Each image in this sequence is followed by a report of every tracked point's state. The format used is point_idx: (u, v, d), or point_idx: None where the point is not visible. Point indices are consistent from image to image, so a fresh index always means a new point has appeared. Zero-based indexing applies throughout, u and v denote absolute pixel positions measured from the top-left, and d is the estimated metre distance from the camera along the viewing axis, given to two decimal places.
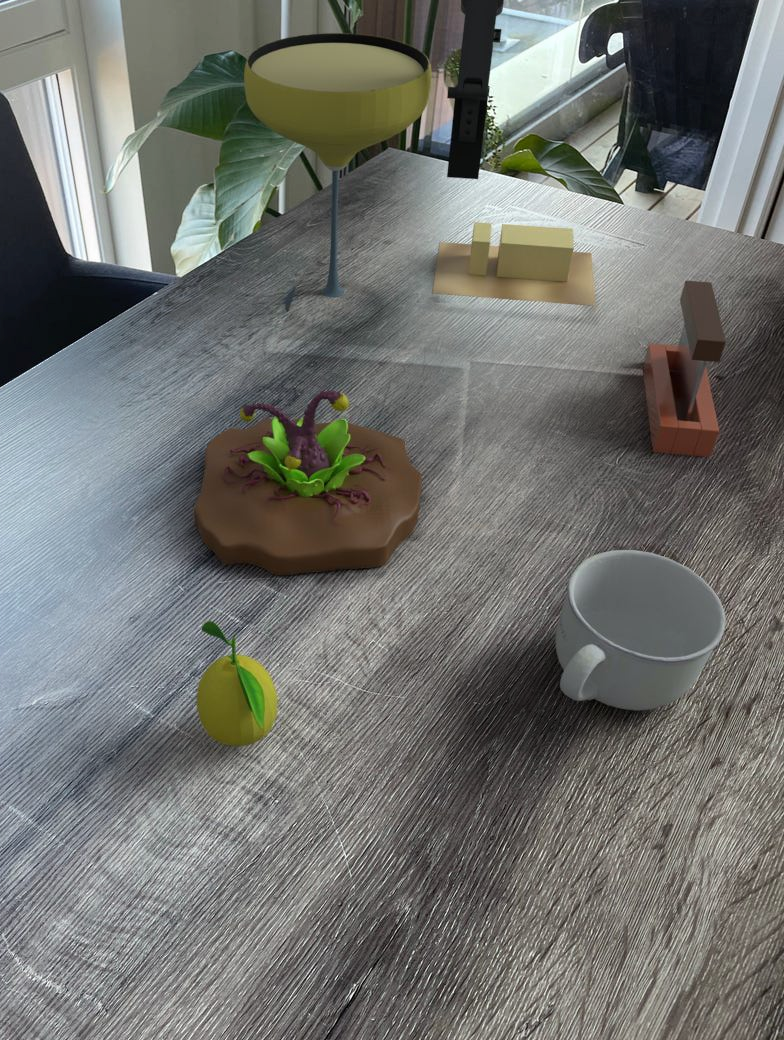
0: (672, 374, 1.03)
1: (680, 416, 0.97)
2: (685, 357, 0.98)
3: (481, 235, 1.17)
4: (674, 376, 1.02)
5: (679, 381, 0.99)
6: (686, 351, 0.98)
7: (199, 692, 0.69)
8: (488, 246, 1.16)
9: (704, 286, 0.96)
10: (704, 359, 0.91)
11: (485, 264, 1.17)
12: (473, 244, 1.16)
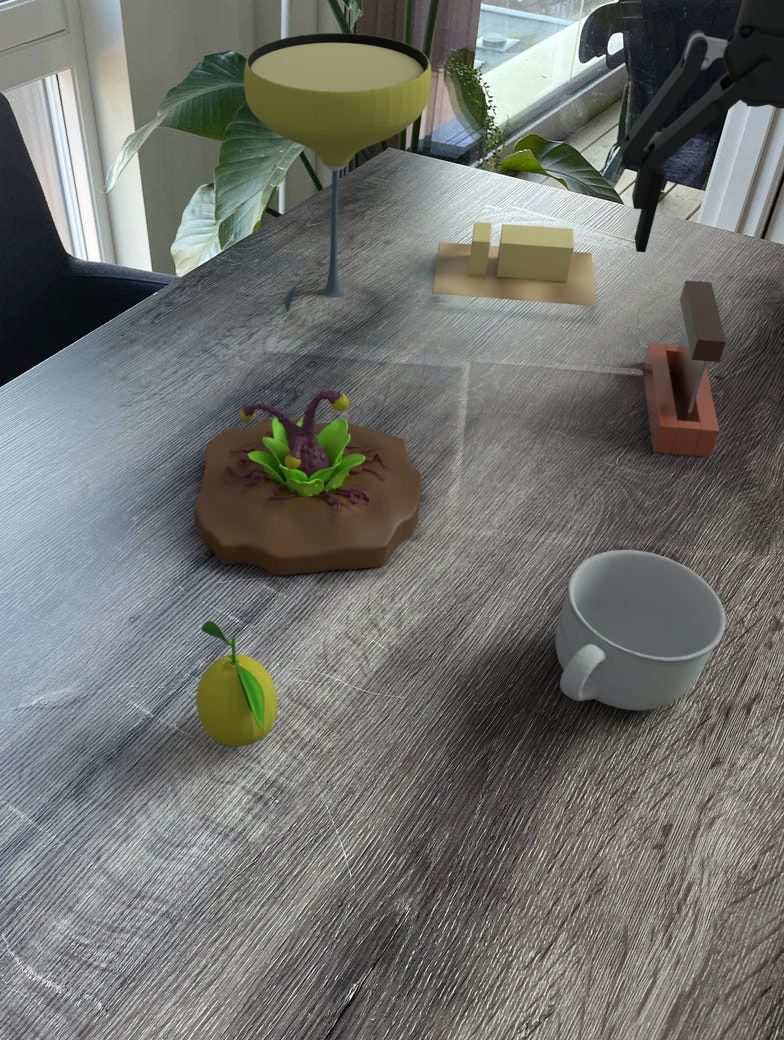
0: (672, 374, 1.03)
1: (680, 416, 0.97)
2: (685, 357, 0.98)
3: (481, 235, 1.17)
4: (674, 376, 1.02)
5: (679, 381, 0.99)
6: (686, 351, 0.98)
7: (199, 692, 0.69)
8: (488, 246, 1.16)
9: (704, 286, 0.96)
10: (704, 359, 0.91)
11: (485, 264, 1.17)
12: (473, 244, 1.16)
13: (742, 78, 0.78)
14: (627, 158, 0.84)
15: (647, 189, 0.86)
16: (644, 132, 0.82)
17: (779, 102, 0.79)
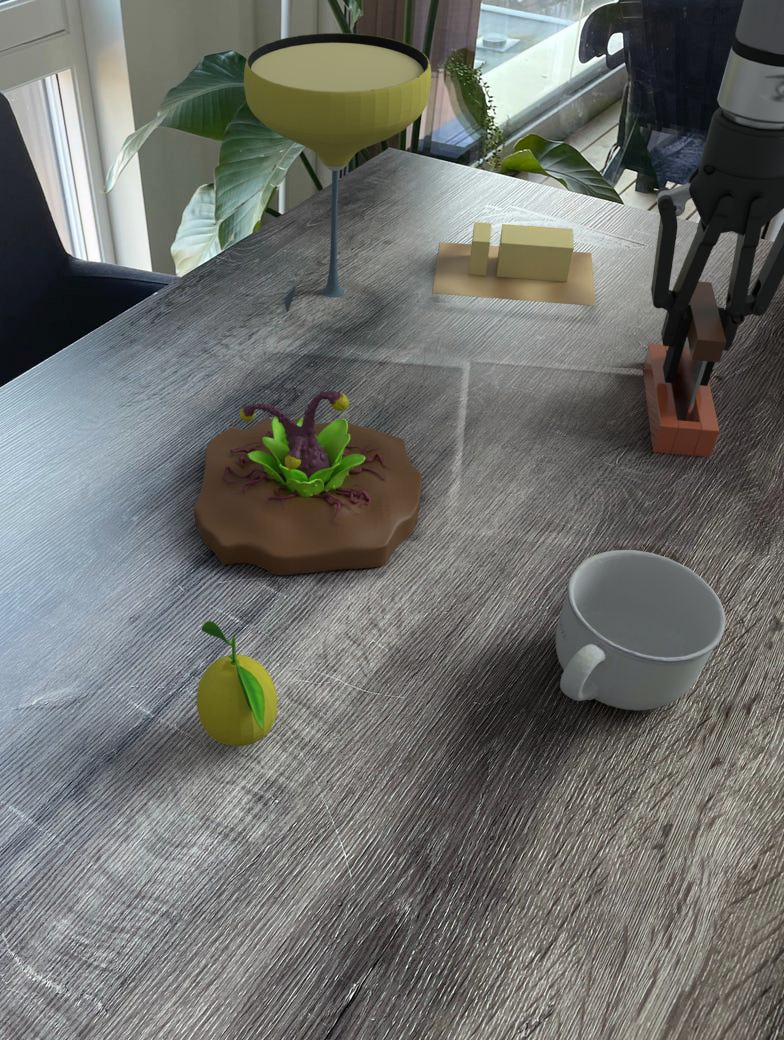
0: None
1: (680, 416, 0.97)
2: (685, 357, 0.98)
3: (481, 235, 1.17)
4: None
5: (679, 381, 0.99)
6: (686, 351, 0.98)
7: (199, 692, 0.69)
8: (488, 246, 1.16)
9: (705, 286, 0.96)
10: (704, 359, 0.91)
11: (485, 264, 1.17)
12: (473, 244, 1.16)
13: (712, 217, 0.86)
14: None
15: (675, 330, 0.94)
16: (661, 281, 0.91)
17: (741, 229, 0.87)
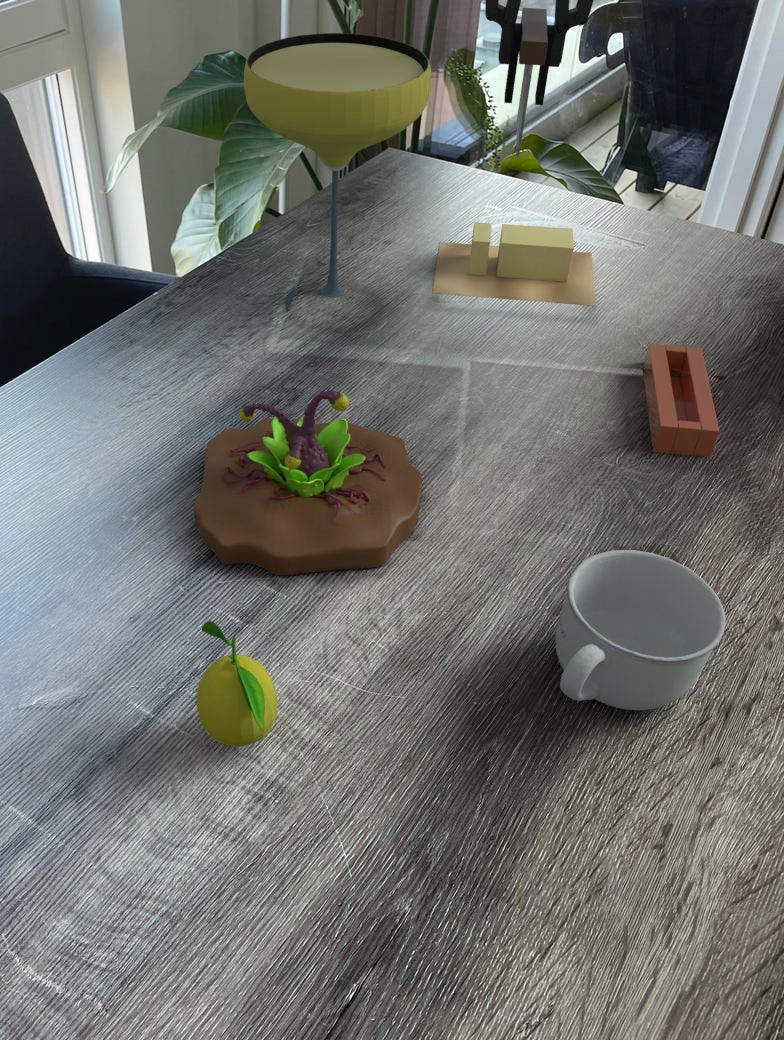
0: (518, 109, 1.10)
1: (518, 134, 1.05)
2: (524, 81, 1.05)
3: (481, 235, 1.17)
4: (519, 108, 1.09)
5: (520, 107, 1.07)
6: None
7: (199, 692, 0.69)
8: (488, 246, 1.16)
9: (539, 10, 1.04)
10: (530, 63, 0.98)
11: (485, 264, 1.17)
12: (473, 244, 1.16)
13: None
14: (491, 17, 1.00)
15: (509, 45, 1.02)
16: None
17: None
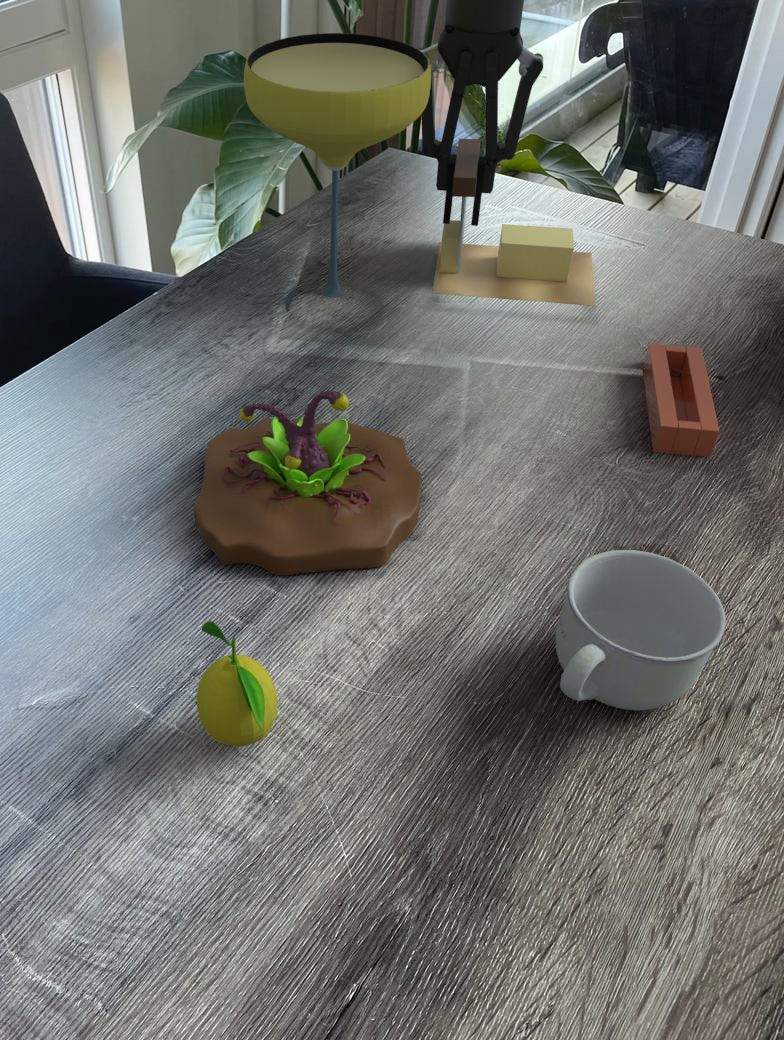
0: None
1: None
2: None
3: (450, 232, 1.17)
4: None
5: None
6: None
7: (199, 692, 0.69)
8: (458, 243, 1.16)
9: (473, 141, 1.15)
10: (462, 195, 1.09)
11: (456, 261, 1.18)
12: (443, 242, 1.16)
13: (457, 71, 1.04)
14: (428, 152, 1.11)
15: (445, 175, 1.13)
16: (426, 130, 1.09)
17: (483, 82, 1.05)
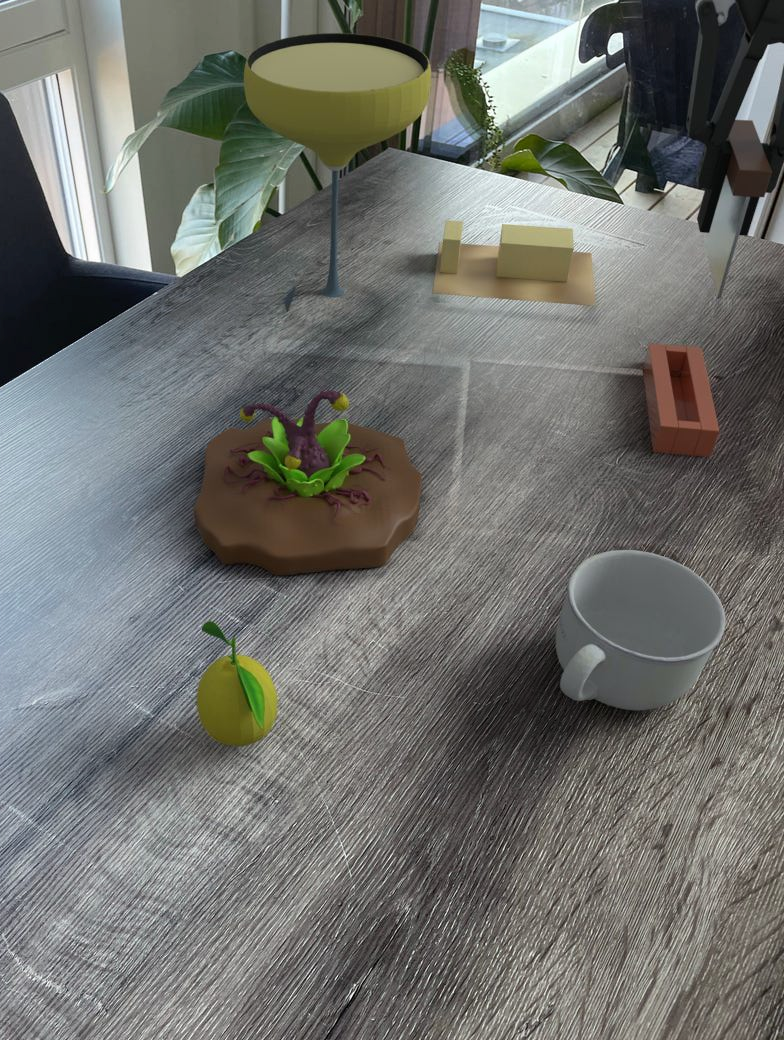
0: (708, 233, 0.93)
1: (719, 270, 0.87)
2: (723, 206, 0.88)
3: (452, 233, 1.17)
4: (711, 233, 0.92)
5: (717, 235, 0.89)
6: (724, 199, 0.88)
7: (199, 692, 0.69)
8: (459, 244, 1.16)
9: (745, 123, 0.86)
10: (747, 194, 0.81)
11: (456, 262, 1.18)
12: (444, 242, 1.16)
13: (759, 23, 0.76)
14: (696, 136, 0.82)
15: (713, 168, 0.84)
16: (698, 106, 0.81)
17: None
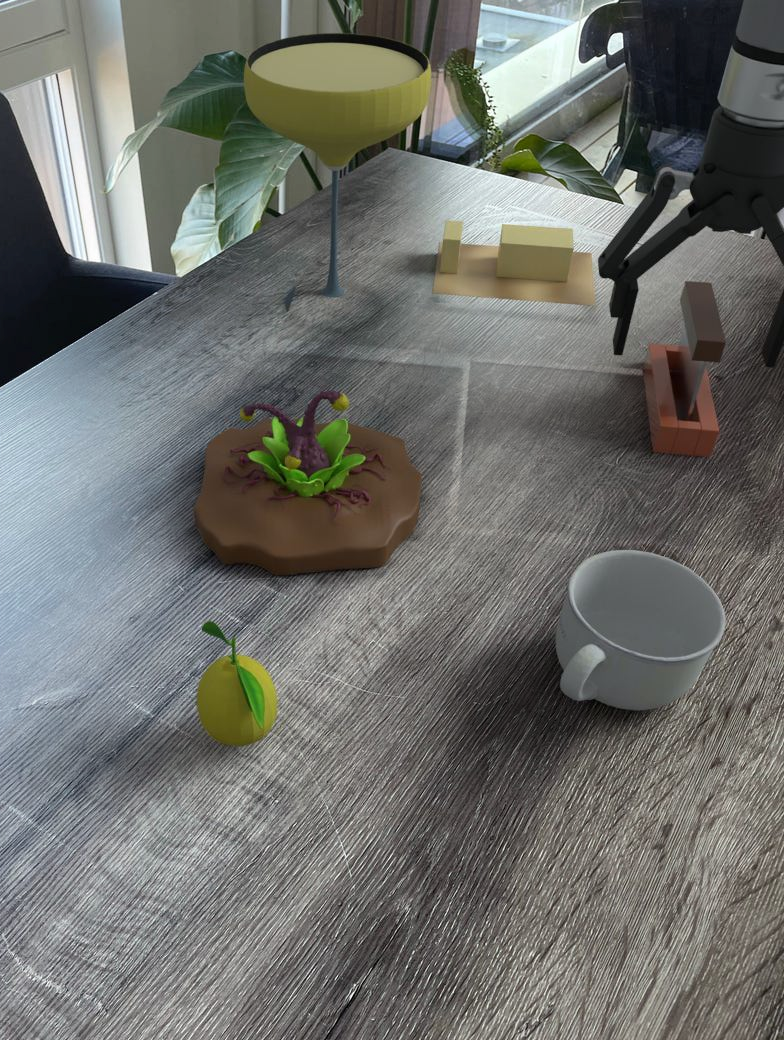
0: (673, 375, 1.03)
1: (681, 417, 0.97)
2: (685, 358, 0.98)
3: (452, 233, 1.17)
4: (675, 377, 1.02)
5: (679, 382, 0.99)
6: (686, 351, 0.98)
7: (199, 692, 0.69)
8: (459, 244, 1.16)
9: (705, 286, 0.96)
10: (704, 360, 0.90)
11: (456, 262, 1.18)
12: (444, 242, 1.16)
13: (707, 208, 0.85)
14: (603, 275, 0.91)
15: (623, 301, 0.93)
16: (618, 253, 0.89)
17: (742, 228, 0.86)
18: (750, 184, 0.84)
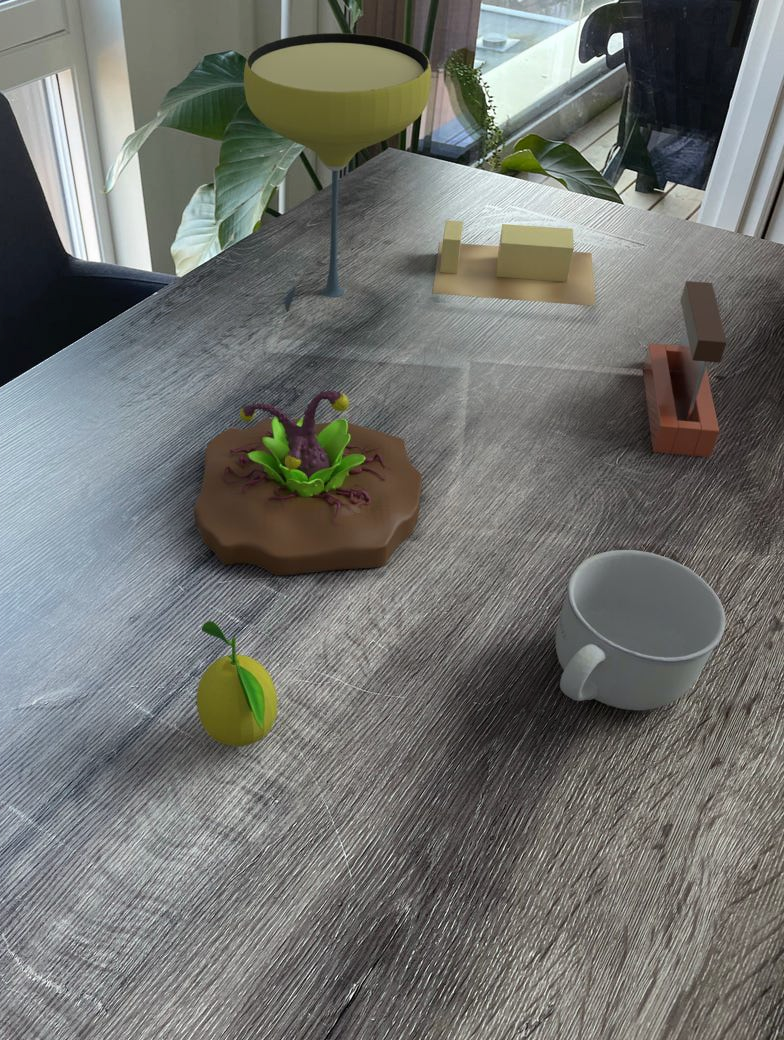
0: (673, 375, 1.03)
1: (681, 417, 0.97)
2: (686, 358, 0.98)
3: (452, 233, 1.17)
4: (675, 377, 1.02)
5: (680, 382, 0.99)
6: (687, 352, 0.98)
7: (199, 692, 0.69)
8: (459, 244, 1.16)
9: (705, 286, 0.96)
10: (705, 360, 0.90)
11: (456, 262, 1.18)
12: (444, 242, 1.16)
13: None
14: None
15: None
16: None
17: None
18: None
